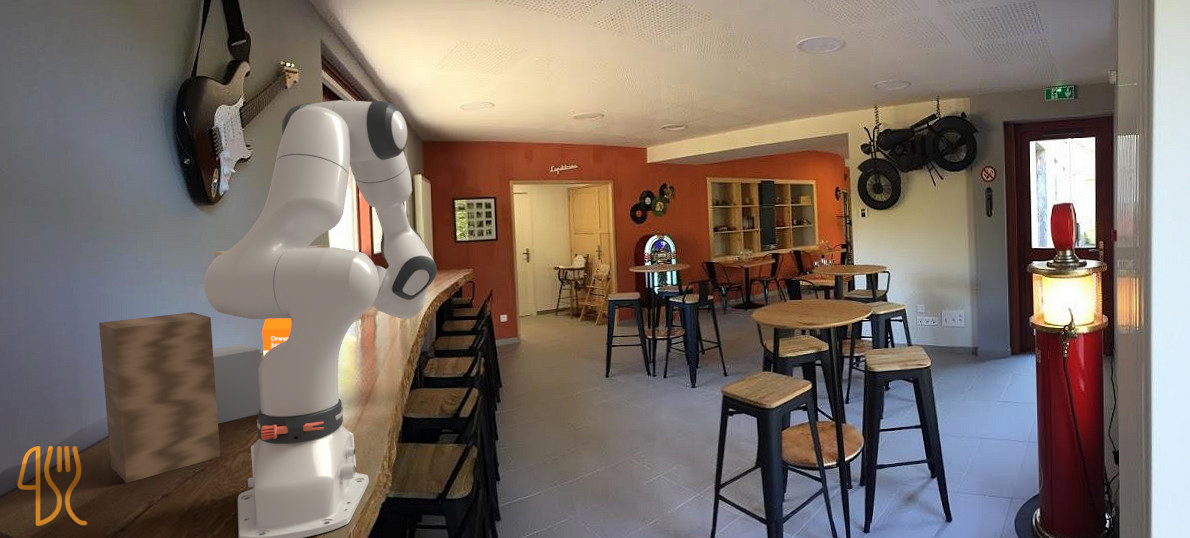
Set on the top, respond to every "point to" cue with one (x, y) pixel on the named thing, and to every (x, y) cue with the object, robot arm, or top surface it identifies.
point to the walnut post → (159, 393)
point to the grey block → (236, 381)
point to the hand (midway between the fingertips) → (305, 252)
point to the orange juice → (275, 332)
